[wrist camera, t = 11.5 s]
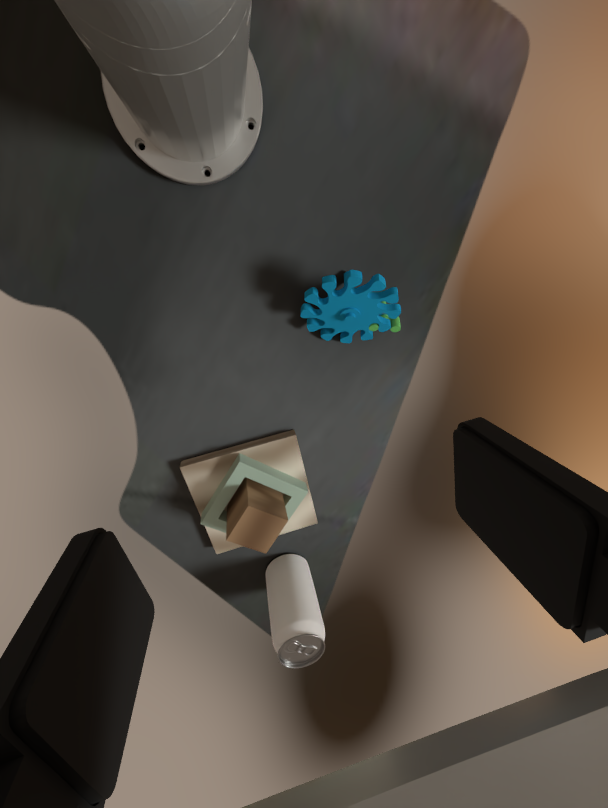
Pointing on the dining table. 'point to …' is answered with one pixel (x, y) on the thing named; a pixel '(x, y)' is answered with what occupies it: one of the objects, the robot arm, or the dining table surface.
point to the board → (213, 467)
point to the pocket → (257, 472)
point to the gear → (352, 307)
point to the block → (255, 516)
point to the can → (294, 612)
